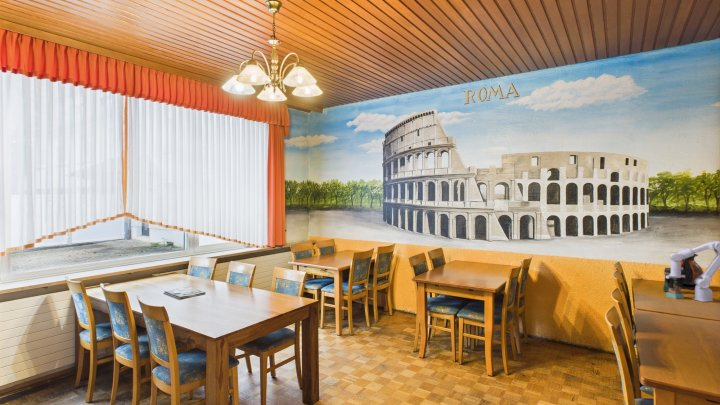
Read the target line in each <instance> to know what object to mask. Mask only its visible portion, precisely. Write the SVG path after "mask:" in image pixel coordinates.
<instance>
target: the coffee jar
mask: <svg viewBox="0 0 720 405" xmlns="http://www.w3.org/2000/svg"><path fill="white" fill-rule="evenodd" d="M669 274H671V267H665V268H664V271H663V275H664V280H663V286H662V287H663V288H662V289H663V291H664V292H669V285H668V282H667V281H666V279H665V278H666V275H669ZM672 279H674V280H675V281H674V283H673V286H678V283H677V279H676V278H672Z"/></svg>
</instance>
